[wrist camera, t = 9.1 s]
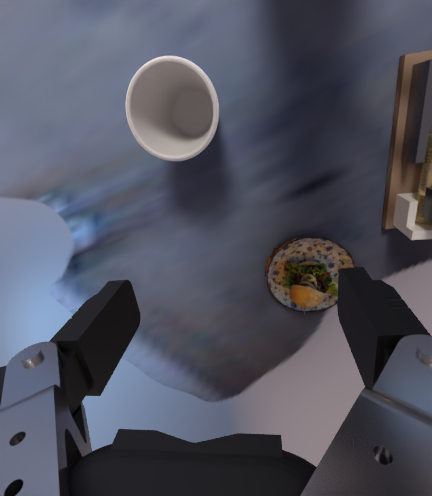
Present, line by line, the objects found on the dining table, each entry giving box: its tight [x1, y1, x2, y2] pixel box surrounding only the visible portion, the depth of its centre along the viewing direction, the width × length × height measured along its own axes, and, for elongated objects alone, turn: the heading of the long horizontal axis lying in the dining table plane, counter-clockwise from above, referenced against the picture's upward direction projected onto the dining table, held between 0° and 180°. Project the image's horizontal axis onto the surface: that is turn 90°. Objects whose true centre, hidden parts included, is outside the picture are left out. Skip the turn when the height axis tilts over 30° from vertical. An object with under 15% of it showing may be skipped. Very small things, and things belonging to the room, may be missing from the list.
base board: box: [382, 50, 432, 229], centre depth 32 cm, size 18×7×1 cm, turn 7°
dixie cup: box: [126, 56, 219, 161], centre depth 30 cm, size 8×8×10 cm
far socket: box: [393, 192, 432, 240], centre depth 32 cm, size 4×5×5 cm
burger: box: [265, 238, 356, 314], centre depth 38 cm, size 12×12×8 cm
